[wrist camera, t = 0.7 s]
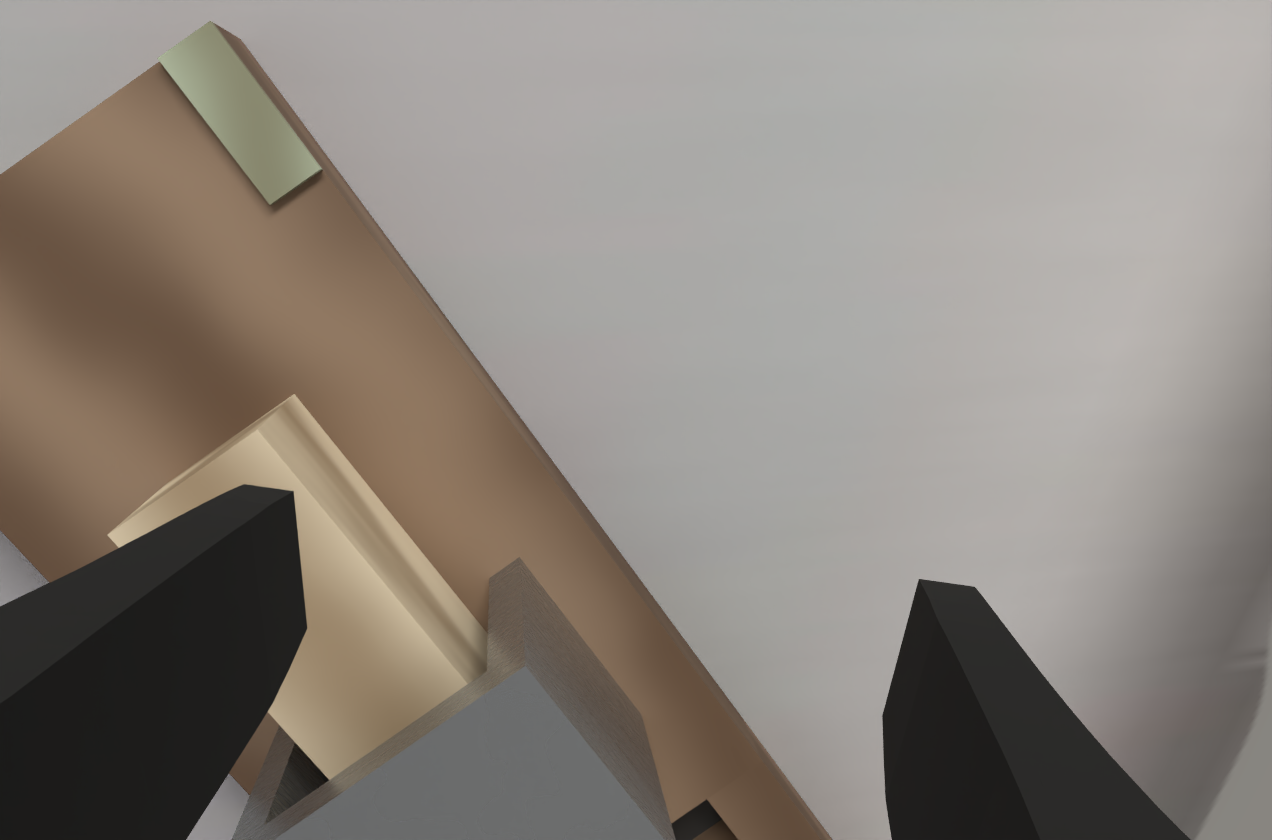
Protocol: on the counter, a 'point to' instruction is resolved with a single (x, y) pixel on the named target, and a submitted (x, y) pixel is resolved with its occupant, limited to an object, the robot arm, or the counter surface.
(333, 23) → the counter surface
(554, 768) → the metal u-shaped holder
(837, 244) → the counter surface
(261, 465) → the ash block
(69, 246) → the walnut deck
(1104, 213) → the counter surface
